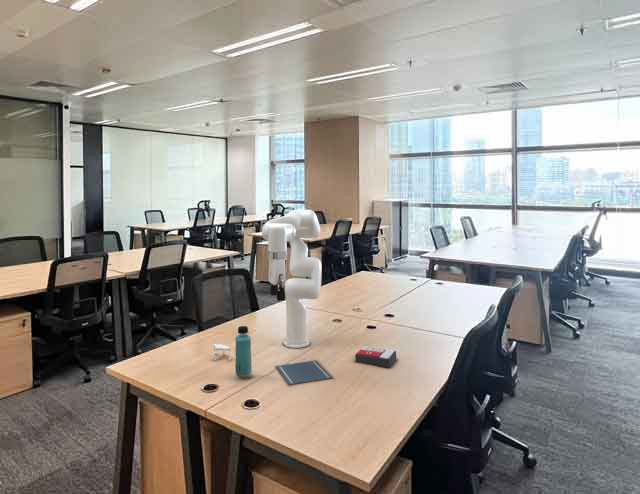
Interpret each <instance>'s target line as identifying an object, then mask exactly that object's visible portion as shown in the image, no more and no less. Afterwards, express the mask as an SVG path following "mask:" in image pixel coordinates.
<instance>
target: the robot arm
mask: <svg viewBox="0 0 640 494" xmlns="http://www.w3.org/2000/svg"><path fill="white" fill-rule="evenodd" d="M320 235H321V225H320V221H319V219H318V216H317V214H316V213H315V211H314V210H312V209H292V210H290V211H288V212H287V214H285V215H284V216H280V217H275V218H272V219H269V220H267V221H266V222H265V223H264V224H263V226H262V228H261V236H262V239H263V240H264V241H266V242H267V259H268V260H269V262H268V276H267V277H268V282H269V283H270V296H276V301H277V302H283V301H285V303H286V306H285V309H286V338H285V339H284V340H283V345H284V346H285V347H287V348H291V349H302V348H306V347H308V346H309V345H310V340H309V339H308V338H307V307H306V304H305V302H304V301H303V300H317V299H319V297H321V296H320V295H321V290H322V289H321V288H322V287H321V286H322V271H323V269H322V262H321V259H320V258H318V257H309V255H308V254H309V248H308V245H307V244H306V243H305V242H304V240H303V239H318V238H319V237H320ZM288 243H289V245H290V256H289V273H290V275H291V276H294V277H292V278H288V279H287V277H286V275H287V274H286V260H288V257H287V254H288V252H287V251H288V249H287V248H288V247H287V246H288V245H287V244H288ZM297 277H300V278H297ZM302 277H303V278H302ZM304 277H305V278H304ZM306 277H307V278H306ZM286 279H287V280H286Z"/></svg>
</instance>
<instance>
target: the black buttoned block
mask: <svg viewBox="0 0 640 494" xmlns="http://www.w3.org/2000/svg"><path fill="white" fill-rule="evenodd" d="M354 357H355V362H356V363H363V364H370V365H376V366H379V367H380V368H386V369H390V368H391V366H393V364H394V363H395V361H396V360H397V350H395V349H390V348H389V349H386V348H384V347H383V348H382V347H374V346H366V345H363V347H362V348H360V349H359V350H358V351H357V352H356V353H355V354H354Z"/></svg>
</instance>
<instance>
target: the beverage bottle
mask: <svg viewBox="0 0 640 494" xmlns="http://www.w3.org/2000/svg"><path fill="white" fill-rule="evenodd" d="M248 333H249V327H248V326H247V325H240V326H238V327H237V334H238V335H237V336H236V337H235V339H234V340H235V348H234V350H235V365H234V366H235V374H236V376H239V377H247V376H250V375H251V374H252V368H253V367H252V337H251V336H250V335H249V334H248Z"/></svg>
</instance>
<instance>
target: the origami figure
mask: <svg viewBox="0 0 640 494" xmlns="http://www.w3.org/2000/svg"><path fill="white" fill-rule="evenodd" d="M213 350H214V351H213V352H212V354H211V357H214V358H215V359H213V361H217V360H218V359H219V357H218V356H217V352H218V351H223V352H222V355H223V356H225V352H226V351H229V352H230V355H231V356H229V357H228V362H230V360H231V359H232V357H233V356H234V354H233V352H232V349H231V348H230V347H229V346H228V345H225V344H222V343H221V344H220V343H219V344H218V343H215V344H214V343H213Z"/></svg>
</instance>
